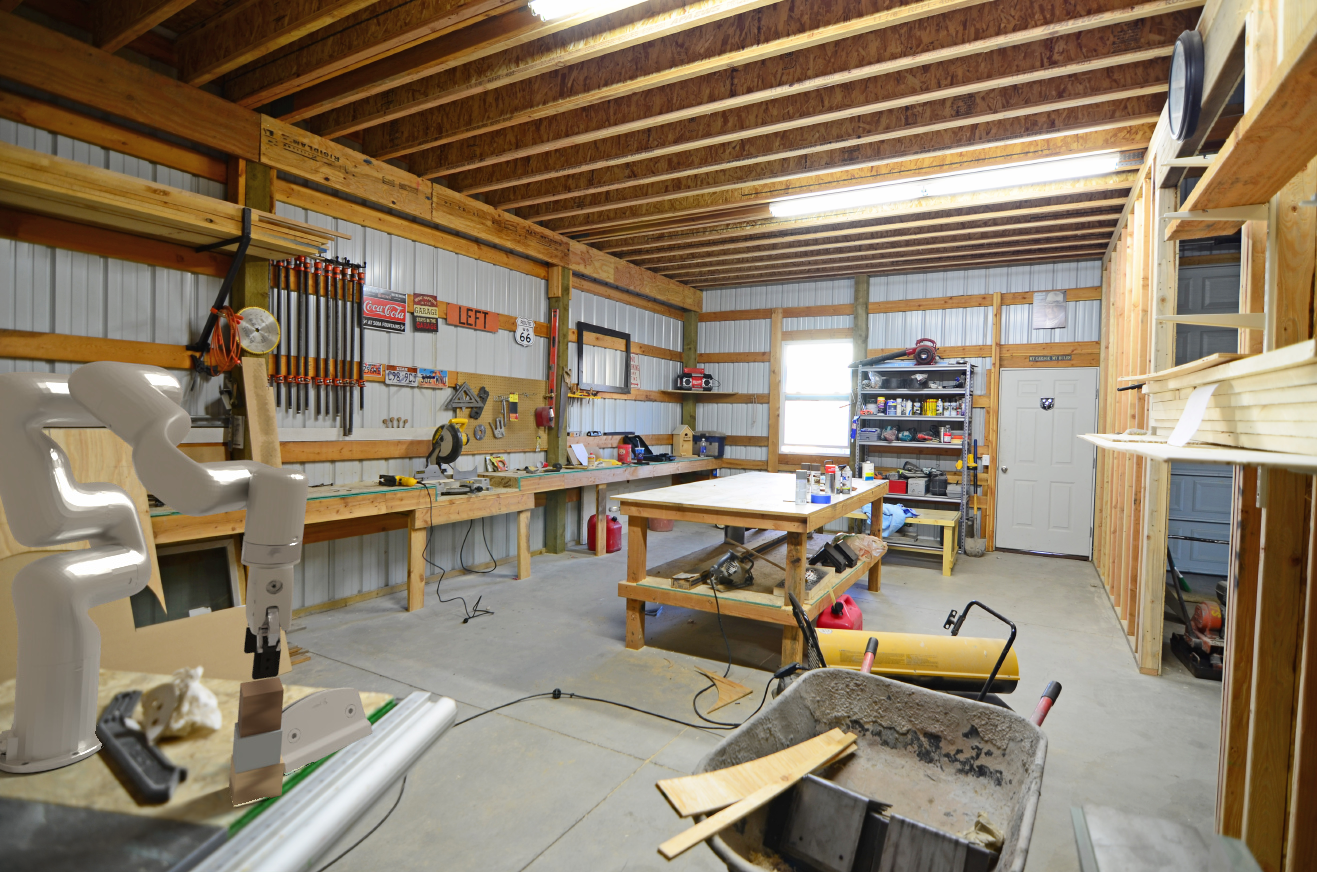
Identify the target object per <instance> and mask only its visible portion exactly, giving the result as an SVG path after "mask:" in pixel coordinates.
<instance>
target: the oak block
mask: <svg viewBox="0 0 1317 872" xmlns="http://www.w3.org/2000/svg"><path fill="white" fill-rule="evenodd" d="M283 769H284V761H283V758H282V755H281V757H280V763H279V764H275V765H271V766H267V767H262V768H258V769H254V770H250V771H246V772H241V773H237V774H235V767H234V761H233V753H232V754H231V756H230V769H229V771H230V773H229V785H228V788H229V787H230V789H229V793H230V792H231V794H230V797H231V796H232V799H231V802H232V801H233V805H232V807H233V806H234V805H238V804H242V803H246V802H249V801H252V800H255V799H256V800H257V799H259V798H263V797H268V798H269V797H270V798H269V799H273V798H276V797H279V796H282V794H283V793H282V792H283V783H284V781H283V779H284V771H283Z"/></svg>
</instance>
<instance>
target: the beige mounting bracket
mask: <svg viewBox="0 0 1317 872" xmlns="http://www.w3.org/2000/svg"><path fill="white" fill-rule="evenodd" d="M281 727H282V730H283V731H282V744H281V755H282V758H283V761H284V769H283V774H284V773H288V772H291V771H292V770H294V769H298V768H300V767H301V766H303V765H306V764H308V763H311V762H314V763H315V762H317V761H319V760H321V759H323V758H326V757H327V756H329V755H332V754H333V753H335V752H337V751H340V750H341V749H343V748H347V746H349V745H352V744H354V743H356V742H357V741H359V740H362V739H364V738H366V737H368V736H369V735H373V728H372V722H370V721H369V719H368V718H367V716H366V713H365V709H364V706H363V701H362V698H361V696H360V692H359V690H358V689H357V688H353V687H336V688H328V689H322V690H319V691H316V692H313V693H310V694H306V695H305V696H302V697H301V698H299V699H297V700H295V701H293V702H290V703H289V704H287V705H286V706H284V707H282V720H281Z"/></svg>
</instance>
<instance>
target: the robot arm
mask: <svg viewBox="0 0 1317 872" xmlns="http://www.w3.org/2000/svg"><path fill="white" fill-rule="evenodd" d="M183 392H184V391H183V387H182V384H181V382H180V381H179V379H178V378H177V377H176V375H175V374H174V373H172V372H171V371H169V370H168V369H165V368H164V367H160V366H157V365H152V364H143V363H131V362H122V361H114V360H113V361H112V360H102V361H101V360H98V361H94V362H93V361H92V362H88V363H85V364H82V365H81V366H79V367H77V368H76V369H75V370H73V372H71V374H70V373H69V374H67V373H58V372H57V373H56V372H44V371H11V372H3V373H0V499H1V505H2V507H3V511H4V514H5V518H6V521H7V524H8V525H7V526H8V527H9V530H10V533H11V535H12V537H13V539H14V540H15V541H16V542H17V543H18V544H19V545H21V546H23V547H27V548H46V547H47V548H48V547H55V546H60V545H66V544H73V543H76V542H79V543H80V542H84V541H88V543H89V546H90V547H88V548H80V549H76V550H70V551H65V552H60V553H54V554H50V555H45V556H44V557H39V558H37V559H35V560H33V561H31V562H29V563H27V564H26V565H24V566H23V567H22V568H20V569H19V570H18V571H17V573H16V574H15V575H14V577H13V579H12V583H11V586H10V588H11V591H10V592H11V598H12V599H11V600H12V603H13V608H14V612H15V613H14V614H15V617H16V625H17V651H16V676H15V691H14V706H13V707H14V708H13V722H12V724H11V726H10V728H9V729H6V730H2V731H1V733H0V770H1V771H3V772H6V773H15V774H17V773H18V774H25V773H38V772H44V771H49V770H53V769H58V768H61V767H65V766H68V765H72V764H74V763H77V762H79V761H81V760H84V759H86V758H87V757H90V756H92V755H93V754H95V753H97V752H98V751H99V750H101V749H102V748H101V746H102V743H101V742H100V741H99V739H98V738H97V736H96V734H95V731H96V725H97V713H98V712H97V711H98V700H99V697H98V696H99V682H100V669H101V668H100V667H101V655H102V654H101V650H102V647H101V646H102V634H101V630H100V629H99V627H98V625H97V624H96V623H95V622H94V620H93V619H92V618H91V617H90V615H89V610H90V609H93V608H95V607H98V606H101V605H105V604H108V603H109V604H110V603H112V602H116V601H119V600H122V599H126V598H129V597H132V596H134V595H136V594H138V593H140V592H141V591H143V590H144V589H145V588H146V586H148V584H149V582H150V579H151V578H152V577H151V576H152V569H153V568H152V559H151V556H150V552H149V546H148V543H147V541H146V537H145V534H144V529H143V525H142V522H141V518H140V514H139V511H138V508H137V505H136V503H135V501H134V499H133V497H132V496H131V495H130V493H129V492H128V491H127V490H126V489H124V487H122V486H120V485H118V484H115V483H113V482H107V481H92V482H82V483H80V482H78V481H77V480H76V478H75V476H74V472H73V470H72V466H71V460H70V458H69V457H68V455H67V453H66V451H65V450H64V449H63V448H62V447H61V445H59V444H58V442H57V441H55V439H53V438H52V437H51V436H49V435H48V434H47V433H45V432H44V431H43V428H44V427H60V428H61V427H62V428H63V427H69V428H70V427H78V428H79V427H85V428H86V427H105V428H107V429H108V430H110V432H112V433H113V434H114V435H116V436H117V437H118V438H120V440H122V441H123V442H125V443H126V444H127V445H128V446H129V447H131V448H132V450H131V462H132V463H131V464H132V466H133V471H134V473H135V476H136V478H137V480H138V482H139V483H140V484H141V486H142V487H144V488H145V490H147V491H148V493H150V494H151V495H153V496H154V497H155V498H156V499H158V500H159V501H161V502H162V503H163V504H164V505H166V506H167V507H168V508H170V509H172V510H174V511H175V512H177V513H180V514H183V515H185V516H190V517H206V516H213V515H217V514H222V513H228V512H229V513H230V512H236V511H243V510H246V511H245V519H244V529H243V539H242V547H241V549H242V550H241V559H240V562H241V564H242V565H245V566H248V567H249V568H248V577H247V585H246V595H245V596H246V597H245V599H246V600H245V617H246V620H247V621H246V622H247V626H246V628H245V636H244V645H243V646H244V648H243V652H244V654H252V653H253V661H252V673H251V678H252V680H253V681H257V680H264V679H270V678H276V677H278V675H279V670H280V665H281V664H280V663H281V662H280V661H281V652H282V648H281V647H282V645H281V643H282V641H281V638H282V637H281V631H283V632H285V633H288V632H289V631H290V630H291V628H292V618H293V617H292V616H293V602H294V601H293V600H294V587H295V586H294V584H295V581H294V580H295V579H294V576H295V575H294V573H295V571H294V569H295V568H294V566H295V565H297V564H299V563H300V562H301V556H302V549H303V548H302V547H303V537H304V531H305V530H304V529H305V522H306V521H305V519H306V512H307V511H306V509H307V501H308V493H309V477H308V475H307V473H306V472H304V471H301V470H298V469H295V468H288V467H287V468H284V467H275V466H272V465H269V464H266V463H263V462H260V461H256V460H250V459H241V460H239V459H238V460H223V461H207V462H198V461H195V460H194V459H192V458H191V457H189V455H186V454H185V453H184V452H183V451H181V450H180V448H177V447H178V446H179V445H180V444H181V443H182V442H183V441H184V440H185V439H186V438H187V436H188V435H189V432H190V431H191V429H192V428H191V427H192V419H191V416H190V414H189V413H188V411H186V410H185V409H184V408H183V407H181V406H180V405H181V403H182V401H183V395H184V393H183Z"/></svg>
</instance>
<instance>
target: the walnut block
mask: <svg viewBox="0 0 1317 872" xmlns="http://www.w3.org/2000/svg"><path fill="white" fill-rule="evenodd" d="M284 693H285V690H284V687H283V684H282V681H281V677H280V676H276V677H270V678H263V679H257V680H252V681H246V682H240V685H239V696H238V697H239V700H238V712H237V722H238V727H239V732H240V737H241V738H242V737H247V736H252V735H256V734H261V733H266V732H271V731H276V730H281V720H282V709H283V708H284V707H283V706H284V705H283V704H284Z"/></svg>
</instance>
